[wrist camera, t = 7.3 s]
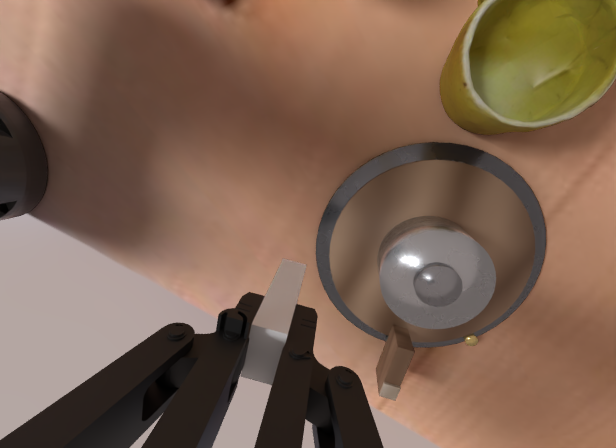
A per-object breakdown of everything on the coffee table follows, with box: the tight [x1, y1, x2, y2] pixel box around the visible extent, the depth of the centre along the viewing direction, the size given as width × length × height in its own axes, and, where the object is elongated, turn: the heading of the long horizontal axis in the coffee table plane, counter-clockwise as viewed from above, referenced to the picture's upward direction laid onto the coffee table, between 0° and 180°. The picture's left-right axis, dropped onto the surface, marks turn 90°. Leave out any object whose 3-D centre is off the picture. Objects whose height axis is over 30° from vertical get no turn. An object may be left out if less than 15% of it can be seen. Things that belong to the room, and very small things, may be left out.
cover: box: [377, 216, 496, 329], centre depth 26 cm, size 9×9×5 cm
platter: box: [329, 159, 535, 401], centre depth 28 cm, size 19×24×4 cm
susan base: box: [316, 142, 546, 347], centre depth 30 cm, size 22×22×1 cm
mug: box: [440, 0, 616, 135], centre depth 21 cm, size 12×10×10 cm
